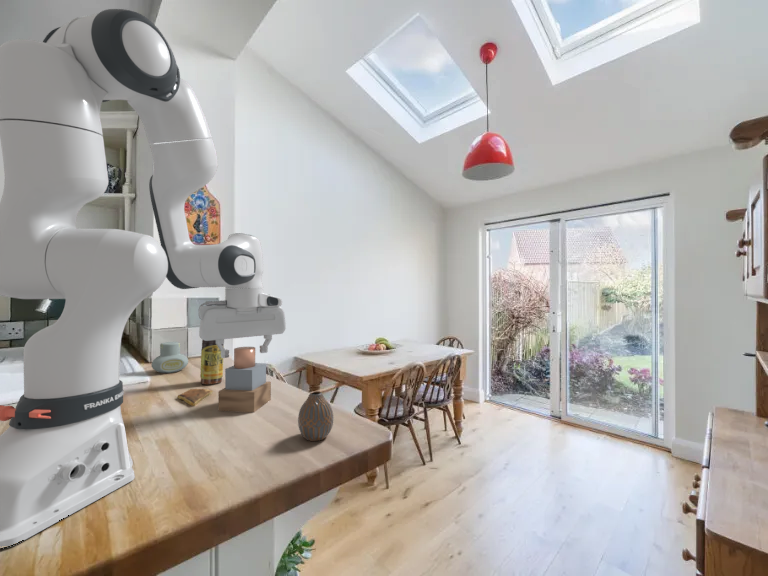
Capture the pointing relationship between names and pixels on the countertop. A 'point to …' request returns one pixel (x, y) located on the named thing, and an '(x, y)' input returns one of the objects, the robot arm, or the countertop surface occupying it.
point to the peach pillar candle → (244, 357)
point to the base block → (244, 399)
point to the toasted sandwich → (194, 396)
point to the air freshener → (169, 358)
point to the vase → (315, 417)
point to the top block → (245, 377)
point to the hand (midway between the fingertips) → (244, 355)
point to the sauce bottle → (211, 363)
